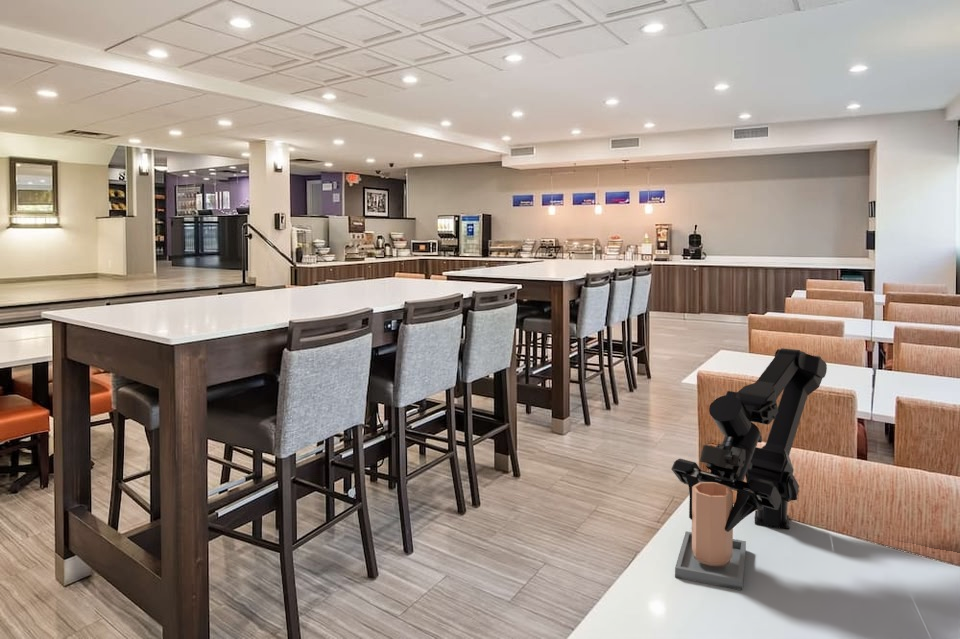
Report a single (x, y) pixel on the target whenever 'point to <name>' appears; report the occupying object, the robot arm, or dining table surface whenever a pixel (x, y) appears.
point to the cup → (711, 523)
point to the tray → (713, 575)
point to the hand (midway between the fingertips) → (708, 524)
